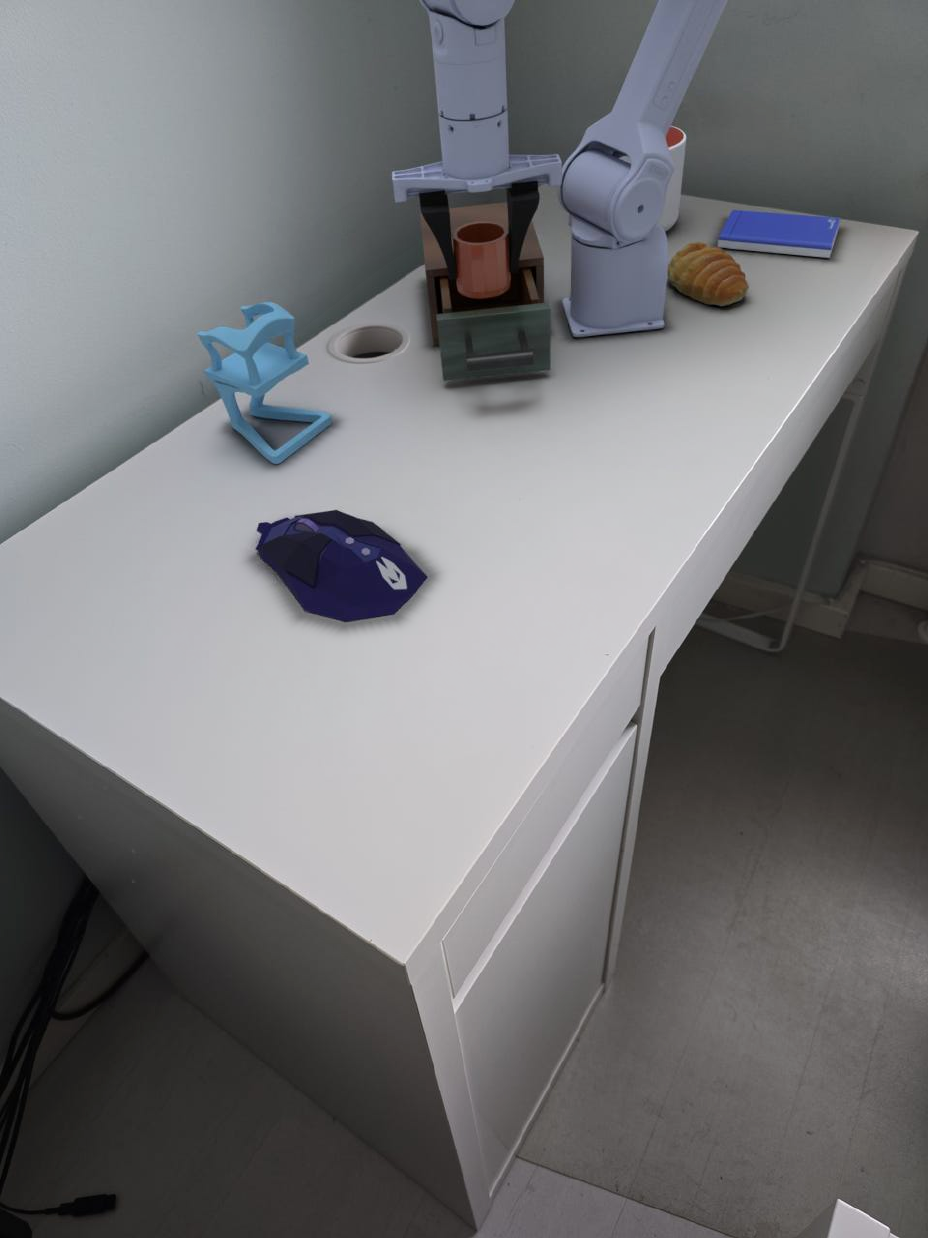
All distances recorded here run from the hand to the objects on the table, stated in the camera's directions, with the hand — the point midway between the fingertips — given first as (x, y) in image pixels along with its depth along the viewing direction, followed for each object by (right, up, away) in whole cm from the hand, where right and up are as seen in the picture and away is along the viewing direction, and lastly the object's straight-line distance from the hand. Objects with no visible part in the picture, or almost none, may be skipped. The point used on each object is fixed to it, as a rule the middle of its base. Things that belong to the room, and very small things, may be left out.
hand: (482, 271), depth 81 cm
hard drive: (+35, +12, +21) cm, 42 cm away
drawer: (+1, -6, +6) cm, 8 cm away
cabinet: (0, +2, +14) cm, 14 cm away
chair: (-20, -15, +1) cm, 25 cm away
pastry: (+25, +4, +14) cm, 29 cm away
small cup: (0, -1, +1) cm, 1 cm away
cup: (+19, +16, +26) cm, 36 cm away
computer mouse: (-12, -29, -13) cm, 34 cm away
